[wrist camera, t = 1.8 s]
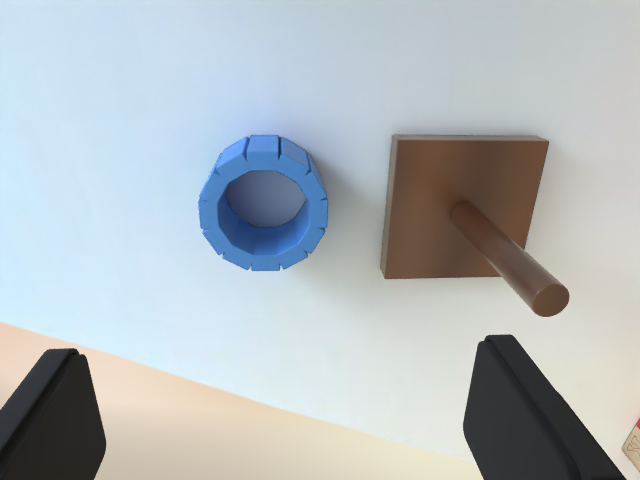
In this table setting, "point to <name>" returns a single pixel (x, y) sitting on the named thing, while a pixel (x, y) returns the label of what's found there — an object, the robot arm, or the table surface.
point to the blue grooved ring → (263, 243)
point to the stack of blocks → (633, 446)
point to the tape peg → (467, 212)
